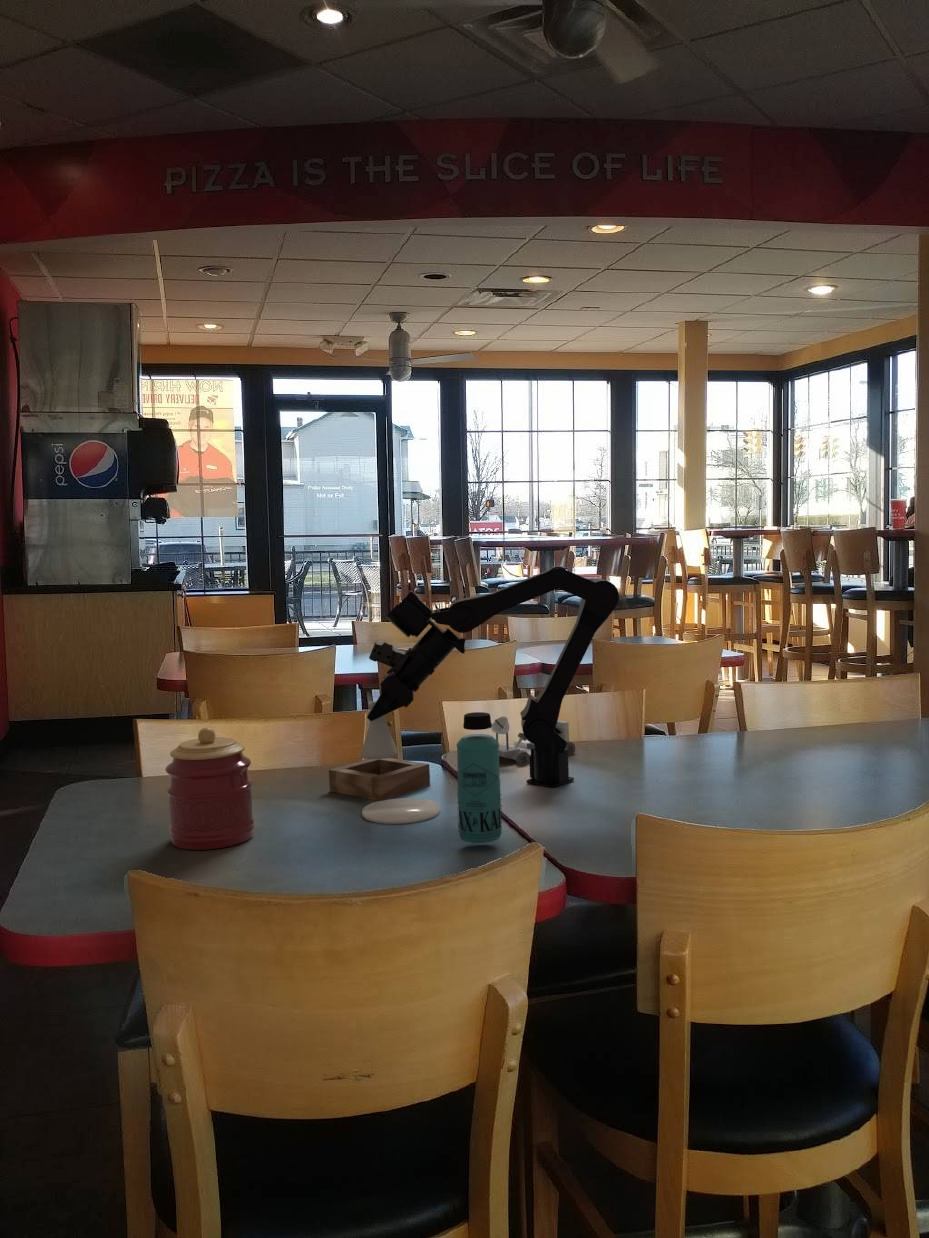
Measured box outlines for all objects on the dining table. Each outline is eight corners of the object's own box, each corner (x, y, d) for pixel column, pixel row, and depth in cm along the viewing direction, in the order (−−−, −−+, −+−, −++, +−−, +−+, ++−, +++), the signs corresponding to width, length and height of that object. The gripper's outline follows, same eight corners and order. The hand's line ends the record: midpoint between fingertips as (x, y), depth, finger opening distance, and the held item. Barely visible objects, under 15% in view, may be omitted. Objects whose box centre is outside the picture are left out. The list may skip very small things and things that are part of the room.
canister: (176, 856, 154) (169, 739, 153) (164, 834, 166) (157, 725, 164) (263, 843, 159) (257, 729, 158) (245, 822, 171) (239, 717, 170)
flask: (392, 761, 186) (390, 705, 185) (353, 760, 187) (351, 705, 187) (403, 752, 193) (401, 699, 192) (366, 752, 194) (364, 699, 194)
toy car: (506, 720, 202) (470, 713, 211) (508, 770, 203) (472, 761, 212) (574, 708, 213) (536, 702, 222) (575, 755, 214) (538, 747, 223)
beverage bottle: (457, 841, 156) (452, 710, 154) (500, 838, 157) (496, 708, 155) (460, 855, 150) (455, 718, 148) (506, 852, 150) (501, 715, 148)
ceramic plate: (456, 809, 174) (456, 804, 174) (402, 828, 164) (402, 823, 164) (400, 798, 182) (400, 794, 182) (346, 816, 173) (345, 811, 173)
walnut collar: (430, 785, 191) (429, 764, 191) (380, 801, 181) (379, 778, 181) (380, 776, 200) (379, 756, 199) (329, 791, 190) (328, 769, 190)
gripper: (397, 620, 197) (343, 680, 198) (390, 630, 179) (329, 696, 180) (440, 659, 198) (386, 719, 199) (438, 673, 179) (377, 739, 180)
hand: (369, 717), depth 189 cm, fingers closed on flask, 3 cm apart
